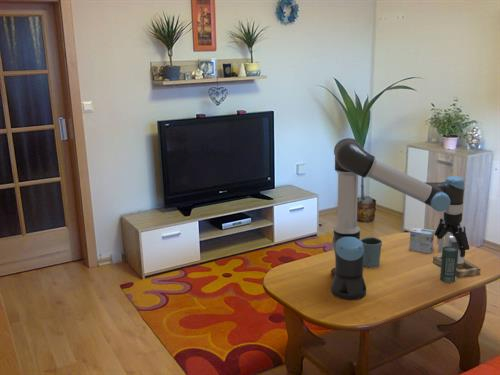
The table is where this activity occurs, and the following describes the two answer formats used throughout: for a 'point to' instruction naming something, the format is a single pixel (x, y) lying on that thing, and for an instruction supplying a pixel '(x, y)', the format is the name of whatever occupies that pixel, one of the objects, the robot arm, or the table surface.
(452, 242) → the grey post
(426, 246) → the light bulb box
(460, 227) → the robot arm
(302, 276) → the table surface
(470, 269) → the rectangular frame
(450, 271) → the can
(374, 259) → the grey cup
